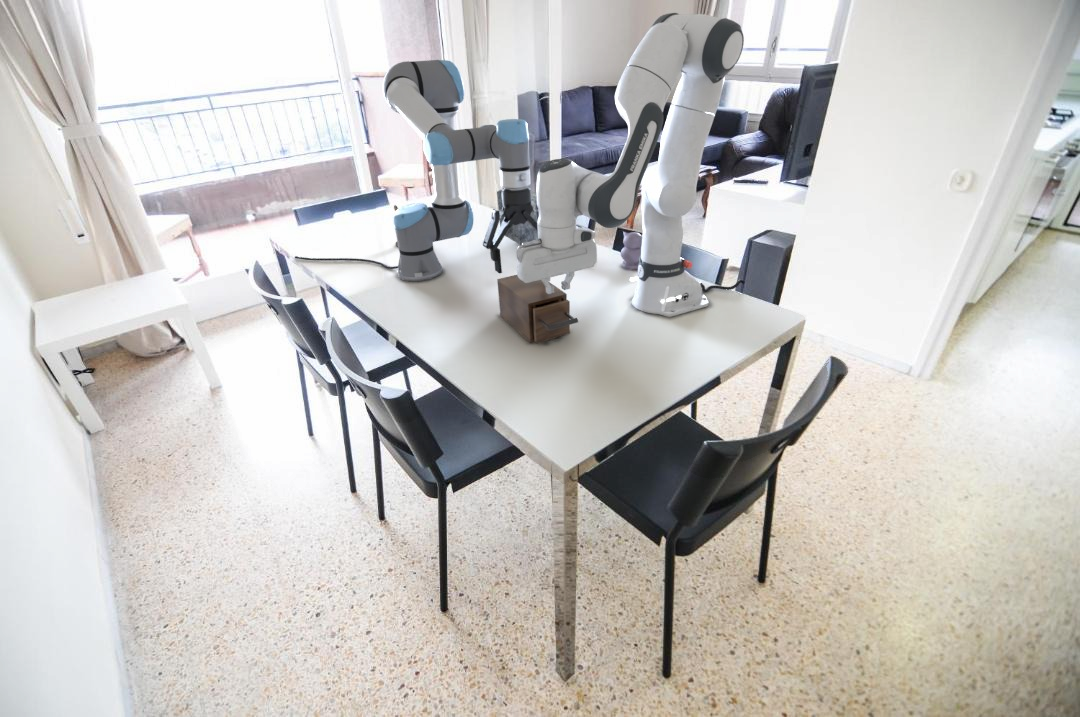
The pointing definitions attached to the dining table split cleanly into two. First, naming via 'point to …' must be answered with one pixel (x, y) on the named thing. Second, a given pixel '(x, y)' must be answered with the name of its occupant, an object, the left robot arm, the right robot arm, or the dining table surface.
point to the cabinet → (523, 302)
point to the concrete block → (520, 231)
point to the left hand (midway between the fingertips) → (520, 266)
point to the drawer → (551, 320)
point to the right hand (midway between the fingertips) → (557, 290)
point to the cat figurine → (631, 250)
